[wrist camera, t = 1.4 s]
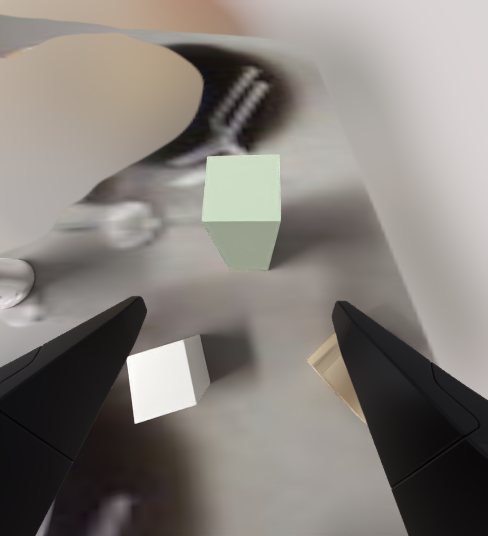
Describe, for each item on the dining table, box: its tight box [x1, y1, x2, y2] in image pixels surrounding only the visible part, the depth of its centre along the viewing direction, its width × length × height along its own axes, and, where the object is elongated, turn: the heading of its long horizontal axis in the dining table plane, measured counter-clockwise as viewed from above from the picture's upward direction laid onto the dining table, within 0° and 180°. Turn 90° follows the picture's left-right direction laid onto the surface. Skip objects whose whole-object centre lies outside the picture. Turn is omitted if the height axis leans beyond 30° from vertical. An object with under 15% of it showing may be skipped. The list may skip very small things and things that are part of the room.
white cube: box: [127, 335, 211, 424], centre depth 18 cm, size 5×5×5 cm
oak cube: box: [307, 332, 368, 426], centre depth 17 cm, size 5×5×5 cm
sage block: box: [202, 154, 281, 270], centre depth 17 cm, size 4×4×12 cm
